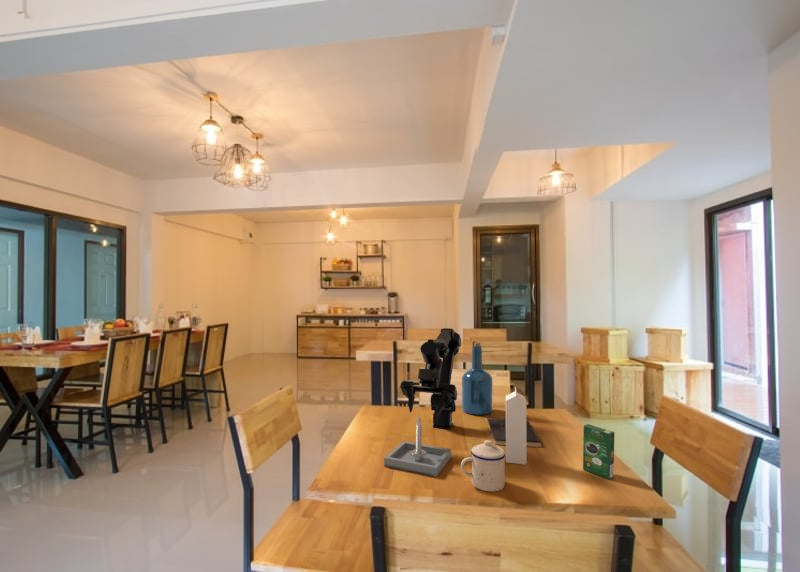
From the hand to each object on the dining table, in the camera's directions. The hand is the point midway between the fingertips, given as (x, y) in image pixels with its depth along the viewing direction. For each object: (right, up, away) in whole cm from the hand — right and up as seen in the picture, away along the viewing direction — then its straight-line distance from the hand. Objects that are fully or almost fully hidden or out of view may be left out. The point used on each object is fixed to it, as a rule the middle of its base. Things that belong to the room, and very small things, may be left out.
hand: (423, 413), depth 126 cm
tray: (-2, -13, -6) cm, 14 cm away
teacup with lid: (+15, -13, -20) cm, 28 cm away
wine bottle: (+26, -14, +45) cm, 54 cm away
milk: (+28, -13, -4) cm, 32 cm away
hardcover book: (+34, -14, +18) cm, 41 cm away
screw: (-2, -13, -6) cm, 14 cm away
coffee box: (+49, -13, -13) cm, 53 cm away
